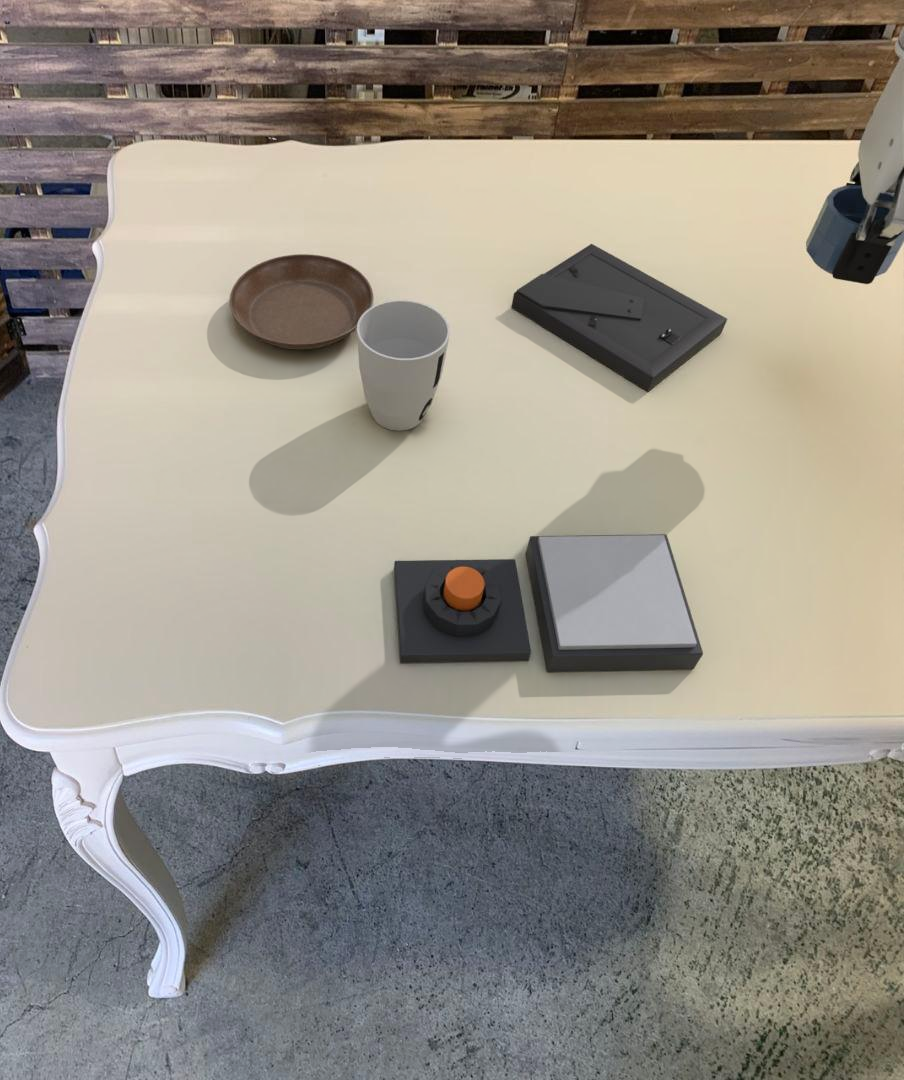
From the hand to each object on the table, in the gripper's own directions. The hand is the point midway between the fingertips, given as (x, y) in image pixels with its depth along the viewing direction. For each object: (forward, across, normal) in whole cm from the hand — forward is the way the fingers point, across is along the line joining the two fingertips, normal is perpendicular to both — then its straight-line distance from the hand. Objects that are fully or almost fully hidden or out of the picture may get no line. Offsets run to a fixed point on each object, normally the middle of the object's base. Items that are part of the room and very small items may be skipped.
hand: (848, 251), depth 78 cm
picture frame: (+15, +5, +17) cm, 24 cm away
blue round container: (+1, 0, 0) cm, 1 cm away
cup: (+15, -15, +36) cm, 42 cm away
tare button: (+13, -36, +25) cm, 46 cm away
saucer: (+15, -4, +49) cm, 51 cm away
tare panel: (+15, -36, +25) cm, 47 cm away
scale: (+15, -32, +14) cm, 38 cm away
